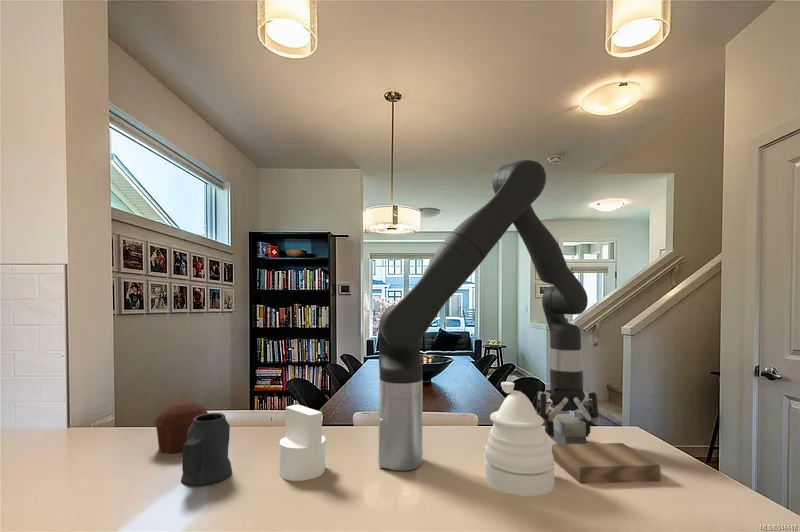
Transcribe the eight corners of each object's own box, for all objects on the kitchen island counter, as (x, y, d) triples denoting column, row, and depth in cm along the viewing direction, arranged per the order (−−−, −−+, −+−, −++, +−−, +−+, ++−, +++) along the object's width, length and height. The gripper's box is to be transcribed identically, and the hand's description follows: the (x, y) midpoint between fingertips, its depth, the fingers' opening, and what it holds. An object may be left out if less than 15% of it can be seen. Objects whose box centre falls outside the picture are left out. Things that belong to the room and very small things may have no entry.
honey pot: (472, 482, 78) (472, 385, 79) (500, 461, 88) (499, 375, 89) (541, 503, 70) (538, 395, 71) (563, 477, 80) (561, 383, 82)
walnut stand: (580, 483, 78) (579, 467, 78) (551, 458, 89) (551, 444, 90) (660, 481, 79) (660, 465, 79) (622, 457, 91) (621, 442, 91)
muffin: (181, 436, 102) (183, 395, 103) (218, 440, 99) (220, 398, 100) (139, 453, 91) (141, 407, 92) (180, 459, 88) (182, 411, 89)
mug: (197, 465, 85) (199, 410, 85) (240, 467, 84) (242, 410, 85) (160, 493, 73) (163, 428, 74) (210, 495, 72) (213, 429, 73)
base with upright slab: (270, 471, 82) (271, 409, 83) (308, 458, 89) (309, 401, 90) (295, 485, 76) (296, 418, 77) (334, 470, 83) (335, 409, 84)
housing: (565, 450, 95) (564, 423, 95) (550, 438, 103) (549, 413, 103) (586, 449, 95) (585, 423, 96) (569, 438, 103) (569, 413, 104)
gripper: (544, 370, 96) (545, 442, 95) (602, 370, 97) (605, 440, 96) (531, 365, 104) (532, 431, 102) (586, 364, 105) (588, 430, 103)
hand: (567, 435), depth 99 cm, fingers open, 8 cm apart
